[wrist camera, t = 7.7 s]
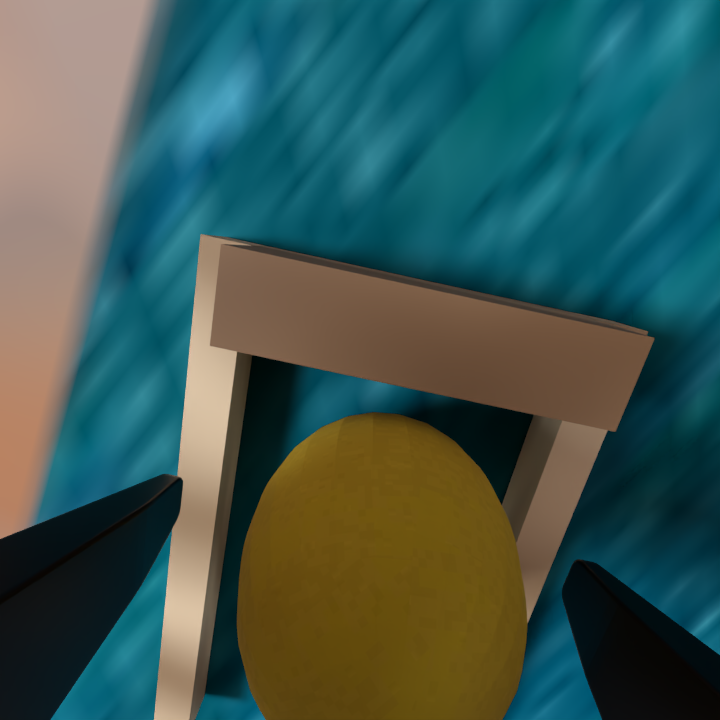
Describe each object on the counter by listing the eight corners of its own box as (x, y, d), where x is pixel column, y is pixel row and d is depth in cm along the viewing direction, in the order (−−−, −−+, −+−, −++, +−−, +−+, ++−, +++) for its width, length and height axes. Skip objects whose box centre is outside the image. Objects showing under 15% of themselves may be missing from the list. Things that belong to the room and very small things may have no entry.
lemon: (357, 559, 13) (334, 980, 6) (253, 435, 12) (48, 748, 5) (500, 477, 12) (711, 854, 5) (401, 335, 11) (461, 518, 4)
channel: (449, 742, 15) (469, 880, 12) (173, 688, 15) (116, 813, 12) (612, 321, 11) (718, 352, 8) (224, 236, 11) (154, 229, 7)
